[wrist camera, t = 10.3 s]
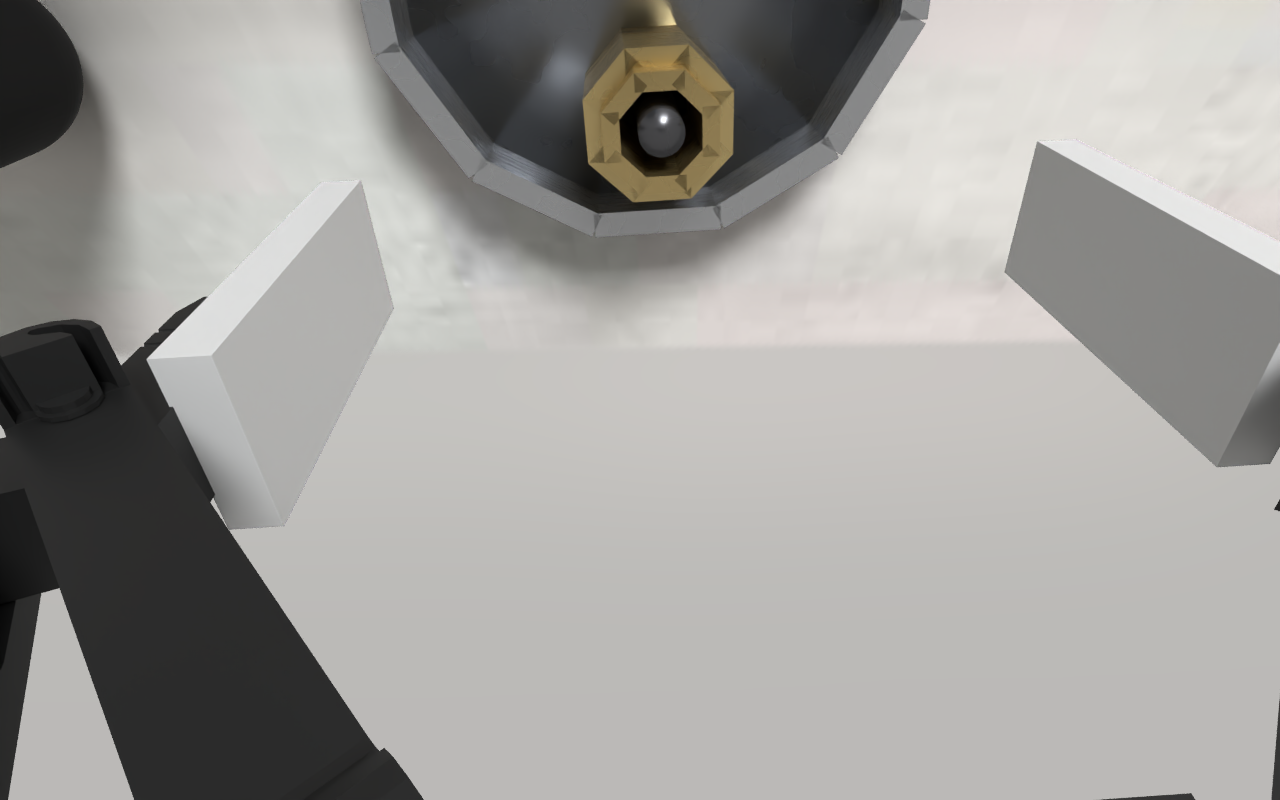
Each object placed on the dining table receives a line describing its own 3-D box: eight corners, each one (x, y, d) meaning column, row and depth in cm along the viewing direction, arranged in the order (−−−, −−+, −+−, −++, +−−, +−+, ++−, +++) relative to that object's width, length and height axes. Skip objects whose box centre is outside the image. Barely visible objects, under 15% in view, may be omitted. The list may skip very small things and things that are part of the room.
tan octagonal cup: (593, 166, 32) (591, 214, 27) (581, 30, 29) (577, 56, 24) (715, 158, 32) (736, 204, 27) (715, 22, 29) (739, 45, 24)
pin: (625, 99, 31) (630, 144, 25) (642, 62, 31) (652, 100, 25) (658, 117, 32) (671, 165, 26) (676, 81, 31) (694, 122, 25)
